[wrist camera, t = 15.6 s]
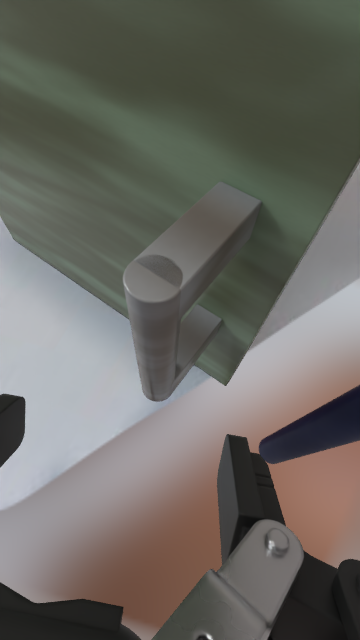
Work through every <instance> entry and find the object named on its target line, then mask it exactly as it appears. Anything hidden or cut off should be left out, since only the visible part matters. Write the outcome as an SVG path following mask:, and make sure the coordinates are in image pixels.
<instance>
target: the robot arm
mask: <svg viewBox="0 0 360 640" xmlns="http://www.w3.org/2000/svg"><path fill="white" fill-rule="evenodd" d="M24 432H25V399H24V398H23V397H20V396H14V395H9V394H2V395H0V467H1V466H2V465H3V464H4V463H5V462H6V461H7V460H8V458H9V457H10V456H11V455H12V454H13V453H14V452H15V451H16V450H17V448H18V447H19V446H20V444H21V442H22V440H23V437H24ZM217 488H218V506H219V520H220V538H221V554H222V566H221V568H220V569H219V570H218V571H217V572H215V571H214V570H213V569H211V570H209V571H208V572H207V573H206V574H205V575H204V576H203V577H202V578H201V579H200V581H199V582H198V583H197V584H196V586H195V587H194V588H193V589H192V591H191V592H190V593H189V594H188V596H187V597H186V598H185V599H184V600H183V602H182V603H181V604H180V605H179V607H178V608H177V609H176V610H175V611H174V613H173V614H172V615H171V616H170V618H169V619H168V620H167V621H166V623H165V624H164V625H163V626H162V628H161V629H160V630H159V631H158V632H157V634H156V635H155V636H154V637H153V639H152V640H360V561H358V560H354V559H348V560H344V561H342V562H341V563H340V565H339V567H338V569H337V568H335V567H332V566H330V565H328V564H326V563H324V562H322V561H320V560H318V559H316V558H314V557H313V556H311V555H309V554H308V553H306V552H305V551H304V550H303V548H302V545H301V543H300V541H299V540H298V538H297V537H296V536H295V535H294V533H293V532H292V531H291V530H290V529H288V528H287V527H286V525H285V521H284V518H283V515H282V511H281V508H280V505H279V502H278V498H277V495H276V491H275V489H274V484H273V481H272V479H271V474H270V471H269V468H268V465H267V463H266V462H265V461H264V459H263V458H262V457H261V456H260V454H257V453H251V452H250V450H249V446H248V441H247V438H246V437H240V436H235V435H229V434H227V435H226V438H225V442H224V447H223V451H222V455H221V460H220V464H219V469H218V478H217ZM122 614H123V607H121V606H116V605H111V604H106V603H101V602H96V601H91V600H86V599H77V600H67V601H58V602H48V603H33V602H31V601H30V600H28V599H26V598H25V597H23V596H22V595H20V594H18V593H17V592H15V591H13V590H12V589H10V588H9V587H7V586H5V585H4V584H2V583H0V640H141V639H140V638H139V637H138V636H137V635H136V634H135V633H134V632H133V631H131V630H130V629H129V628H127V627H126V626H124V625H122V624H121V620H122Z"/></svg>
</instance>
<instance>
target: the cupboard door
mask: <svg viewBox="0 0 360 640" xmlns="http://www.w3.org/2000/svg"><path fill="white" fill-rule="evenodd" d="M359 162H360V0H0V216H1V218H2V220H3V221H4V223H5V225H6V227H7V228H8V230H9V232H10V234H11V235H12V237H13V239H14V240H15V241H17V242H18V243H19V244H21V245H22V246H24V247H25V248H27V249H28V250H30V251H31V252H32V253H34V254H35V255H37V256H38V257H40V258H41V259H43V260H44V261H45V262H47V263H48V264H50V265H51V266H53V267H54V268H56V269H57V270H58V271H60V272H61V273H63V274H64V275H66V276H67V277H69V278H70V279H72V280H73V281H74V282H76V283H77V284H79V285H80V286H82V287H83V288H85V289H86V290H87V291H89V292H90V293H92V294H93V295H95V296H96V297H98V298H99V299H100V300H102V301H103V302H105V303H106V304H108V305H109V306H111V307H112V308H113V309H115V310H116V311H118V312H119V313H121V314H122V315H124V316H125V317H126V318H128V319H129V320H130V324H131V330H132V335H133V341H134V346H135V352H136V357H137V363H138V368H139V374H140V379H141V385H142V390H143V393H144V395H145V396H146V397H147V398H148V399H150V400H152V401H156V402H159V401H163V400H165V399H167V398H168V397H169V396H170V395H171V394H172V393H173V391H174V390H175V389H176V387H177V386H178V385H179V383H180V382H181V381H182V379H183V378H184V377H185V375H186V374H187V373H188V371H189V370H190V369H191V368H192V366H193V365H196V366H197V367H199V368H200V369H202V370H203V371H205V372H206V373H207V374H209V375H210V376H212V377H213V378H215V379H216V380H218V381H219V382H220V383H222V384H224V385H225V386H226V385H227V384H228V382H229V381H230V379H231V377H232V376H233V374H234V372H235V371H236V369H237V367H238V366H239V364H240V362H241V361H242V359H243V357H244V356H245V354H246V352H247V351H248V349H249V347H250V346H251V344H252V342H253V341H254V339H255V337H256V336H257V334H258V332H259V331H260V329H261V327H262V326H263V324H264V322H265V320H266V319H267V317H268V315H269V314H270V312H271V310H272V309H273V307H274V305H275V304H276V302H277V300H278V299H279V297H280V295H281V294H282V292H283V290H284V289H285V287H286V285H287V283H288V282H289V280H290V278H291V277H292V275H293V273H294V272H295V270H296V268H297V267H298V265H299V263H300V262H301V260H302V258H303V257H304V255H305V253H306V252H307V250H308V248H309V246H310V245H311V243H312V241H313V240H314V238H315V236H316V235H317V233H318V231H319V230H320V228H321V226H322V225H323V223H324V221H325V220H326V218H327V216H328V215H329V213H330V211H331V209H332V208H333V206H334V204H335V203H336V201H337V199H338V198H339V196H340V194H341V193H342V191H343V189H344V188H345V186H346V184H347V183H348V181H349V179H350V178H351V176H352V174H353V172H354V171H355V169H356V167H357V166H358V164H359Z"/></svg>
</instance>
